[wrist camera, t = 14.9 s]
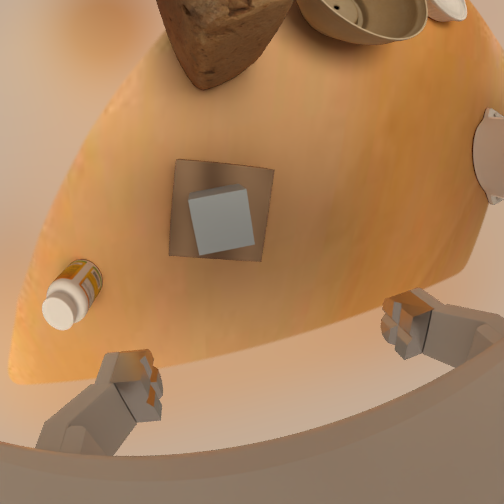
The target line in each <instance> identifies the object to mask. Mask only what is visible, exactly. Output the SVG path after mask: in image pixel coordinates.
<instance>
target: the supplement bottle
mask: <svg viewBox="0 0 504 504" xmlns="http://www.w3.org/2000/svg"><path fill="white" fill-rule="evenodd" d="M101 287H102V276H101V273H100V271H99V269H98V268H97V267H96V266H95V265H94V264H93V263H91V262H90V261H87V260H76V261H74V262H72V263H71V264H70V265H69V266H68V267H67V268H66V269H65V270H64V271H63V272H62V273H61V274H60V275H59V276H58V277H57V278H56V279H55V280H54V281H53V282H52V284H51V285H50V286H49V288H48V291H47V298H46V299H45V301H44V302H43V305H42V312H43V316H44V318H45V319H46V321H47V322H48V323H49V324H50V325H51V326H52V327H54V328H56V329H58V330H67V329H69V328H70V327H71V326H72V325H73V323H76V322H79V321H80V320H82V319H83V318H84V316H85V315H86V314H87V312H88V310H89V308H90V306H91V305H92V303H93V301H94V300H95V298H96V296H97V295H98V293H99V292H100V290H101Z"/></svg>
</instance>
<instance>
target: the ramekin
mask: <svg viewBox="0 0 504 504" xmlns="http://www.w3.org/2000/svg"><path fill="white" fill-rule="evenodd" d="M426 2H427V8H428V17H430V18H432V19H434V20H436V21H440V22H446V21H462V20H464V19H465V18H466V16H467V7H466V4H465V1H464V0H426Z"/></svg>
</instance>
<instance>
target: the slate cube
mask: <svg viewBox="0 0 504 504" xmlns="http://www.w3.org/2000/svg"><path fill="white" fill-rule="evenodd" d="M188 203H189V208H190V213H191V218H192V223H193V228H194V232H195V237H196V242H197V247H198V251H199V256H200V255H205V254H210V253H215V252H220V251H225V250H230V249H235V248H240V247H245V246H250V245H255V242H254V235H253V229H252V222H251V215H250V209H249V202H248V196H247V189H246V188H244V187H243V186H241V185H240V184H234V185H228V186H223V187H217V188H212V189H206V190H201V191H196V192H191V193H190V194H189V198H188Z"/></svg>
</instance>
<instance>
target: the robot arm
mask: <svg viewBox="0 0 504 504" xmlns="http://www.w3.org/2000/svg"><path fill="white" fill-rule="evenodd" d="M473 160H474V167H475V172H476V175H477V178H478V181H479V183H480V185H481V186H482V188H483V189H484V190H485V192H486V194H487V198H488V201H489V203H490V204H494V205H495V204H496V203H498V202H500V201H502V200H504V116H502V115H501V114H499V113H498V112H497V111H495V110H494V109H492V108H487V109H486V111H485V115H484V119H483V120H482V122H481V123H480V124H479V126H478V128H477V130H476V133H475V137H474V144H473ZM383 311H384V312H385V315H384V316H383V318H382V319H381V330H382V335H383V337H384V338H385V340H386V341H387V342H388V343H390V344H393V345H395V351H396V352H397V353H398V354H399V355H400V356H401V357H402V358H403V359H404V360H406V359H408V358H411V357H413V356H416V355H418V354H421V353H423V354H424V355H427V356H429V357H431V358H434V359H436V360H438V361H441V362H443V363H445V364H448V365H450V366H453V367H455V369H453V370H451V371H449V372H448V373H446V374H444V375H442V376H440V377H439V378H437V379H435V380H433V381H431V382H429V383H427V384H425V385H423V386H421V387H419V388H417V389H415V390H413V391H411V392H409V393H406V394H404V395H402V396H400V397H398V398H396V399H393V400H391V401H389V402H386V403H384V404H382V405H379V406H377V407H374V408H372V409H369V410H367V411H364V412H362V413H359V414H356V415H354V416H350V417H348V418H345V419H342V420H339V421H336V422H333V423H330V424H327V425H324V426H320V427H317V428H314V429H310V430H307V431H304V432H300V433H297V434H292V435H288V436H284V437H280V438H276V439H272V440H268V441H263V442H258V443H253V444H248V445H243V446H238V447H232V448H226V449H218V450H211V451H203V452H194V453H184V454H172V455H155V456H113V455H114V454H115V453H116V451H117V450H118V449H119V447H120V446H121V445H122V443H123V442H124V440H125V439H126V438H127V436H128V435H129V434H130V432H131V431H132V430H133V428H134V427H135V425H136V423H137V422H148V421H159V420H161V410H162V405H161V402H160V400H159V399H160V398H161V397H162V395H163V386H162V380H161V376H160V373H159V371H158V369H157V368H156V367H154V366H153V361H154V358H153V356H152V353H151V351H150V350H149V349H143V350H132V351H122V352H112V353H107V354H105V356H104V359H103V361H102V364H101V367H100V370H99V373H98V375H97V378H96V381H95V384H91V385H89V386H88V387H87V388H86V389H85V390H83V391H82V392H81V393H80V394H78V395H77V396H76V397H75V398H74V399H73V400H71V401H70V402H69V403H68V404H66V405H65V406H64V407H63V408H62V409H60V410H59V411H58V412H57V413H56V414H54V415H53V416H52V417H51V418H50V419H48V420H47V421H46V422H45V423H44V425H43V428H42V431H41V433H40V436H39V439H38V442H37V444H36V447H35V448H29V447H24V446H19V445H14V444H10V443H5V442H1V441H0V504H504V318H503V317H501V316H500V315H498V314H494V313H489V312H484V311H479V310H474V309H469V308H464V307H459V306H455V305H450V304H447V305H444V304H443V303H441V302H440V301H438V300H437V299H435V298H434V297H433V296H431V295H430V294H428V293H427V292H425V291H424V290H422V289H421V288H415V289H412V290H409V291H407V292H404V293H401V294H398V295H395V296H392V297H389V298H386V299H385V300H384V302H383Z"/></svg>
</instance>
